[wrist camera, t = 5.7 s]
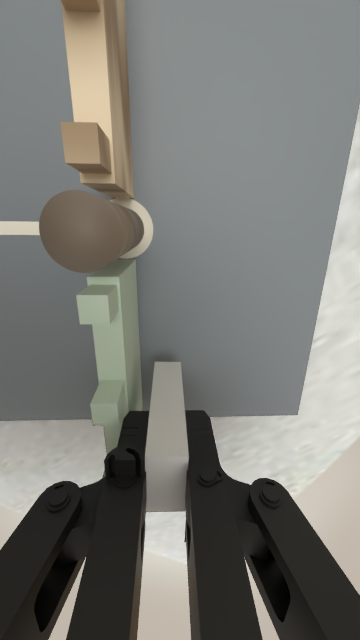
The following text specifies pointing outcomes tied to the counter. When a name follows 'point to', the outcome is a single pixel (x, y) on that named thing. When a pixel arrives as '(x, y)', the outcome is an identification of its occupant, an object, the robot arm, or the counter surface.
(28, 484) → the counter surface
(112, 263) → the folding panel
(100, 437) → the counter surface
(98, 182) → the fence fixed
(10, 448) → the counter surface
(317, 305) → the board
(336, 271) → the counter surface
